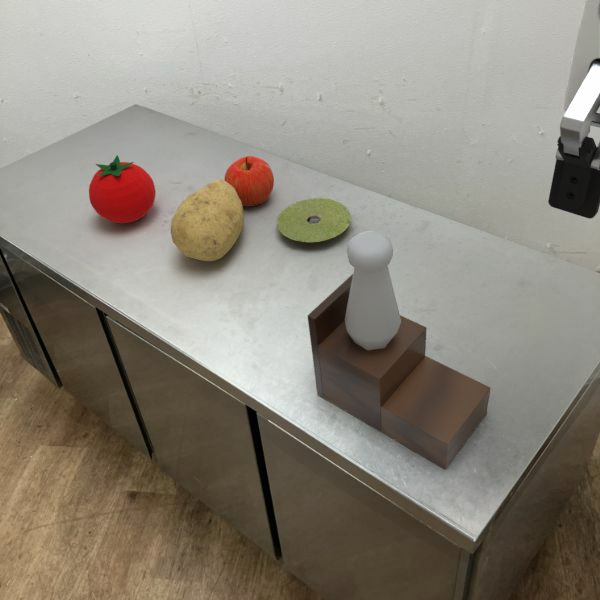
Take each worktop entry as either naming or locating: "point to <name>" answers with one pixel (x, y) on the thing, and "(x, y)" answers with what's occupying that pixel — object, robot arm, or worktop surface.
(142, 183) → the tomato
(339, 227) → the mat
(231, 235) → the potato
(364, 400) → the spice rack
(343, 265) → the worktop surface
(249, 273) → the worktop surface
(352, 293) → the salt shaker
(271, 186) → the apple
